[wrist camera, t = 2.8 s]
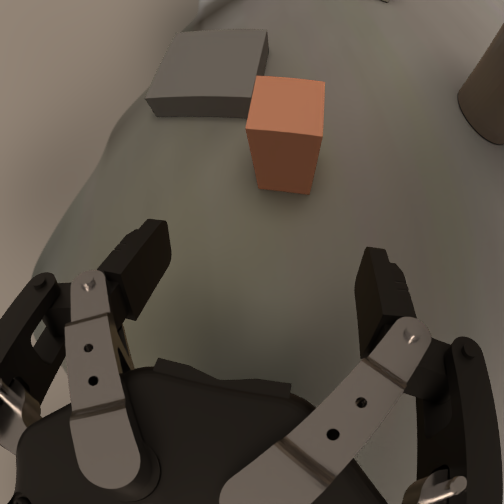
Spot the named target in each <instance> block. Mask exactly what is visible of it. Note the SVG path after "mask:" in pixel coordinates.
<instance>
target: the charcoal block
mask: <svg viewBox="0 0 504 504" xmlns="http://www.w3.org/2000/svg"><path fill="white" fill-rule="evenodd" d="M268 53H269V46H268V35H267V30H259V29H227V30H205V31H192V32H182V33H176V34H175V36H174V38H173V40H172V42H171V43H170V45H169V47H168V49H167V51H166V53H165V55H164V57H163V59H162V62H161V63H160V66H159V68H158V70H157V72H156V74H155V76H154V78H153V80H152V83H151V85H150V87H149V89H148V92H147V94H146V96H145V100H146V101H147V103H148V104H149V106H150V107H151V109H152V110H153V112H154V113H155V115H156V116H157V117H177V116H197V117H230V118H248V114H249V109H250V104H251V99H252V94H253V90H254V85H255V80H256V76H264V72H265V67H266V62H267V58H268Z"/></svg>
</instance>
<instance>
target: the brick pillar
mask: <svg viewBox="0 0 504 504" xmlns="http://www.w3.org/2000/svg"><path fill="white" fill-rule="evenodd" d="M324 94H325V82H321V81H313V80H305V79H295V78H284V77H271V76H256V80H255V85H254V90H253V94H252V99H251V104H250V109H249V114H248V119H247V124H246V133H247V138H248V142H249V147H250V151H251V156H252V160H253V165H254V169H255V174H256V179H257V183H258V188H259V189H266V190H275V191H283V192H292V193H299V194H307V195H309V194H310V190H311V186H312V182H313V177H314V173H315V169H316V164H317V160H318V155H319V151H320V146H321V141H322V137H323V119H324Z"/></svg>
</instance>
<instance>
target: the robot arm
mask: <svg viewBox="0 0 504 504" xmlns="http://www.w3.org/2000/svg"><path fill="white" fill-rule="evenodd" d="M458 101H459V105H460V107H461V110H462V112H463V114H464V115H465V117H466V119H467V120H468V121H469V123H470V124H471V125H472V126H473V128H474V129H475V130H476V131H477V132H478V133H479V134H480V135H482V136H483V137H484V138H486V139H487V140H489V141H491V142H492V143H495V144H504V23H503V25H502V26H501V28H500V30H499V31H498V33H497V35H496V36H495V38H494V39H493V41H492V43H491V44H490V46H489V47H488V49H487V50H486V52H485V53H484V55H483V57H482V58H481V60H480V61H479V63H478V64H477V66H476V67H475V69H474V70H473V72H472V73H471V74H470V76H469V77H468V79H467V80H466V82H465V83H464V84H463V86H462V87H461V89H460V90H459V93H458ZM170 261H171V246H170V239H169V232H168V225H167V222H166V221H164V220H155V219H147V220H146V221H145V222H144V224H143V225H142V226H141V227H140V228H139V229H136V230H134V231H132V232H131V233H129V234H127V235H126V236H125V237H124V238H123V239H122V241H121V242H120V244H118V245H117V246H116V247H115V250H113V251H112V252H111V253H110V254H109V256H108V257H107V258H106V259H105V260H104V262H103V263H102V264H101V265H100V266H99V268H98V269H97V270H88V271H85V272H82V273H81V274H79V275H78V276H76V277H75V278H74V280H73V281H72V283H57V281H56V278H55V276H54V275H53V274H52V273H48V272H45V273H41V274H38V275H36V276H35V277H33V278H32V279H31V280H30V281H29V282H28V284H27V285H26V286H25V287H24V289H23V290H22V292H21V293H20V294H19V295H18V296H17V298H16V299H15V300H14V302H13V303H12V304H11V305H10V307H9V308H8V309H7V311H6V312H5V314H4V315H3V316H2V318H1V319H0V445H1V446H2V447H4V448H5V449H7V450H9V451H10V452H11V453H13V454H14V455H16V467H17V472H16V474H17V475H16V487H15V492H14V495H13V497H12V498H11V500H10V501H9V503H8V504H388V503H387V502H386V500H385V499H384V498H383V497H382V495H381V494H380V493H379V491H378V490H377V489H376V487H375V486H374V485H373V483H372V482H371V481H370V479H369V478H368V477H367V475H366V474H365V473H364V471H363V470H362V469H361V467H360V466H359V465H358V463H357V462H356V461H355V459H354V456H355V455H356V454H357V453H358V452H359V450H360V449H361V448H362V447H363V446H364V444H365V443H366V442H367V441H368V440H369V438H370V437H371V436H372V435H373V433H374V432H375V431H376V429H377V428H378V427H379V425H380V424H381V423H382V421H383V420H384V419H385V417H386V416H387V415H388V413H389V412H390V410H391V409H392V408H393V406H394V405H395V403H396V402H397V400H398V399H399V397H400V396H401V394H402V393H406V394H409V395H412V396H415V397H416V411H417V481H415V482H414V483H412V484H411V485H410V486H409V487H408V488H407V490H406V492H405V494H404V497H403V501H402V504H502V500H503V497H502V495H503V481H502V459H501V447H500V438H499V429H498V422H497V416H496V410H495V404H494V399H493V394H492V389H491V384H490V380H489V376H488V371H487V367H486V364H485V360H484V356H483V353H482V350H481V348H480V347H479V345H478V344H477V343H476V342H475V341H473V340H472V339H470V338H468V337H458V338H456V339H455V340H454V341H453V343H452V344H451V345H450V344H447V343H444V342H441V341H439V340H436V339H434V338H432V337H431V333H430V331H429V329H428V327H427V326H426V325H425V324H424V323H423V322H421V321H420V320H418V319H417V318H416V314H415V310H414V307H413V303H412V300H411V296H410V293H409V292H408V287H407V284H406V280H405V277H404V274H403V272H402V271H401V269H400V268H399V267H398V266H397V265H396V264H395V263H390V262H389V259H388V256H387V253H386V250H385V249H380V248H373V247H366V249H365V251H364V254H363V257H362V261H361V264H360V267H359V270H358V274H357V277H356V281H355V301H356V310H357V320H358V331H359V344H360V359H362V360H361V361H360V362H359V364H358V365H357V366H356V367H355V368H354V369H353V370H352V371H351V373H350V374H349V375H348V376H347V377H346V378H345V379H344V380H343V381H342V382H341V383H340V384H339V386H338V387H337V388H336V389H335V390H334V391H333V392H332V393H331V394H330V395H329V396H328V397H327V398H326V399H325V400H324V401H323V402H322V403H321V404H320V405H319V406H318V407H317V408H315V407H314V406H313V405H312V404H311V403H309V402H308V401H306V400H305V399H303V398H301V397H299V396H297V395H294V394H292V393H290V390H291V384H290V383H282V382H275V381H268V380H261V379H244V380H218V379H216V378H214V377H211V376H209V375H207V374H205V373H203V372H201V371H199V370H197V369H195V368H193V367H191V366H189V365H185V364H181V363H177V362H173V361H169V360H165V359H161V358H158V360H157V362H156V364H155V366H154V367H142V368H137V369H135V367H134V364H133V361H132V358H131V354H130V350H129V346H128V342H127V338H126V333H125V329H124V326H123V322H124V320H125V318H127V319H130V320H134V321H136V320H137V318H138V317H139V315H140V313H141V311H142V310H143V308H144V306H145V305H146V303H147V301H148V299H149V298H150V296H151V294H152V293H153V291H154V289H155V288H156V286H157V284H158V283H159V281H160V279H161V278H162V276H163V274H164V273H165V271H166V270H167V268H168V266H169V264H170ZM41 320H43V322H44V324H45V325H46V328H45V329H44V331H43V332H42V334H41V336H40V337H39V339H38V340H37V342H36V344H35V345H34V347H32V345H31V335H32V333H33V332H34V330H35V329H36V327H37V326H38V324H39V323H40V321H41ZM65 356H66V362H67V373H68V383H69V391H70V398H71V403H70V404H68V405H66V406H64V407H62V408H61V409H59V410H57V411H55V412H53V413H51V414H49V415H47V416H45V417H44V418H42V417H41V416H40V414H41V408H40V405H41V403H42V401H43V399H44V397H45V395H46V393H47V391H48V389H49V387H50V385H51V383H52V381H53V379H54V377H55V375H56V373H57V371H58V369H59V367H60V366H61V364H62V362H63V360H64V358H65Z"/></svg>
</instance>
